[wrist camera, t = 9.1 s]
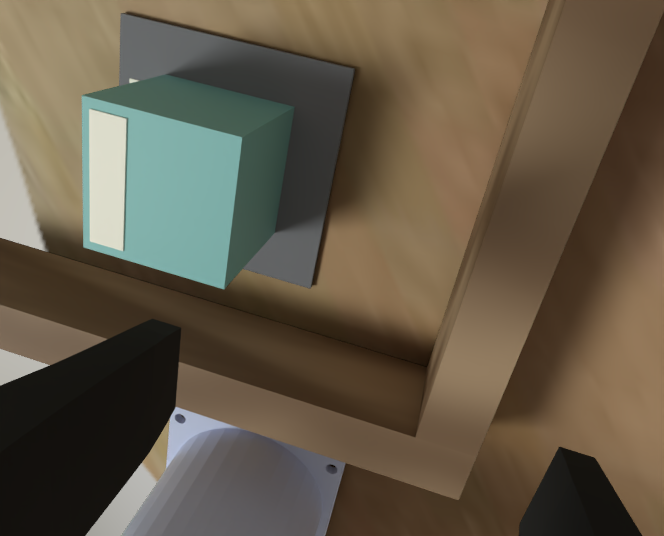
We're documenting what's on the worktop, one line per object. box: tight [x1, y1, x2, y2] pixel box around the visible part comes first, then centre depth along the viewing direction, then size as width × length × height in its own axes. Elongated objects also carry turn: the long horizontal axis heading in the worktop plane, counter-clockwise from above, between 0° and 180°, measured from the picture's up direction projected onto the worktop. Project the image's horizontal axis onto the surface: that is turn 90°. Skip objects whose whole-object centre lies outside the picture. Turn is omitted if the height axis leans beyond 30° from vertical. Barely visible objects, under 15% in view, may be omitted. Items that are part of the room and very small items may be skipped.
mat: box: [119, 13, 355, 288], centre depth 20 cm, size 8×8×1 cm
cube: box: [82, 74, 295, 289], centre depth 18 cm, size 5×5×5 cm
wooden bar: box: [0, 238, 477, 500], centre depth 22 cm, size 2×22×4 cm, turn 79°
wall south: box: [415, 0, 664, 457], centre depth 17 cm, size 18×2×4 cm, turn 169°
